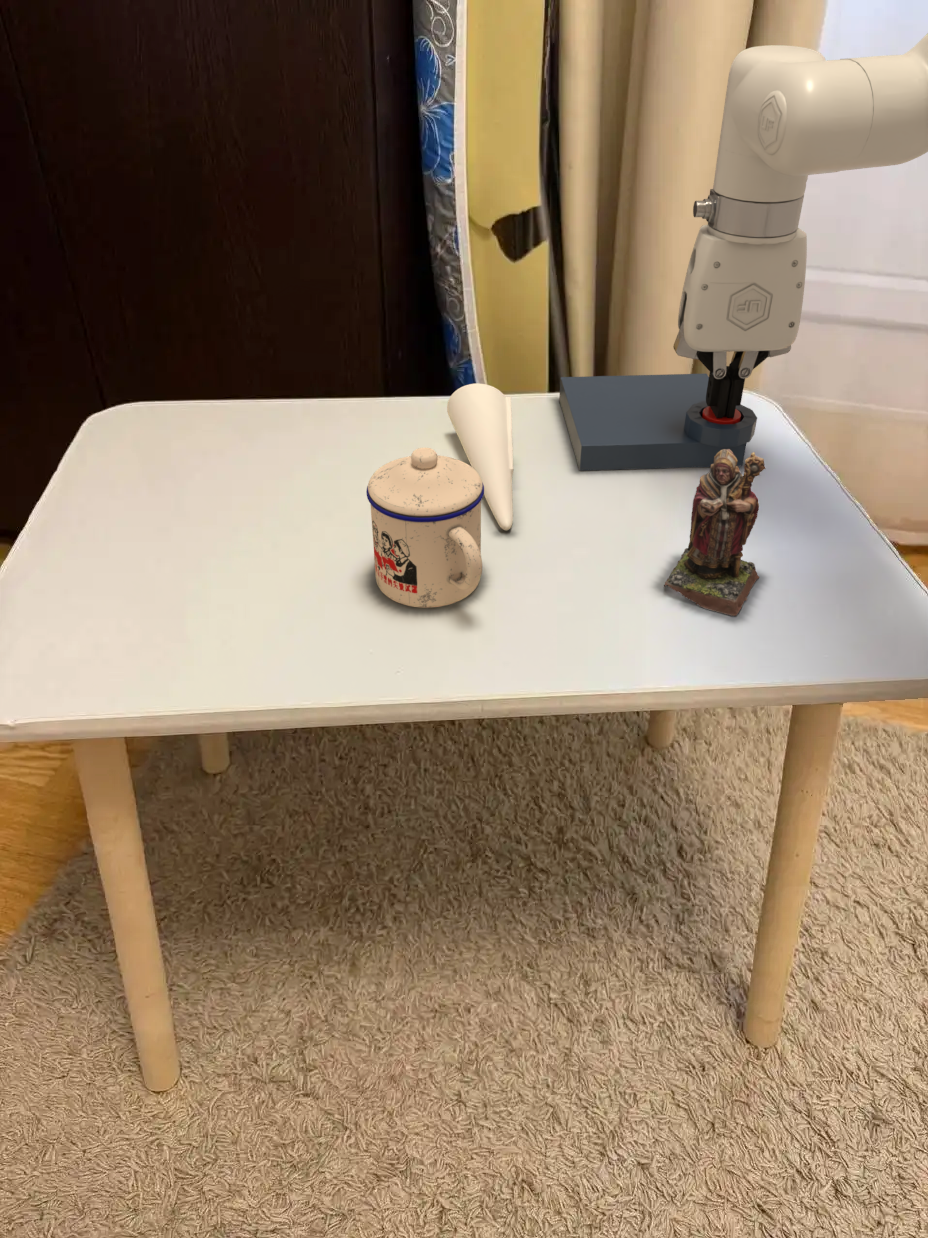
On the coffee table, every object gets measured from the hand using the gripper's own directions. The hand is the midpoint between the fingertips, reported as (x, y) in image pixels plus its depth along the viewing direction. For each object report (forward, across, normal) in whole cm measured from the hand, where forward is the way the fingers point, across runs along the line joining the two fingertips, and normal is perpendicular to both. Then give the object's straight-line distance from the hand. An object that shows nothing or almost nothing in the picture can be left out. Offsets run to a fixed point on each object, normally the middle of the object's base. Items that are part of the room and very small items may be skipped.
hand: (721, 411), depth 95 cm
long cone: (+5, -24, -3) cm, 24 cm away
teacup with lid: (+5, -28, -21) cm, 35 cm away
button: (+2, 0, 0) cm, 2 cm away
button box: (+5, -6, +6) cm, 9 cm away
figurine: (+5, -6, -22) cm, 23 cm away
